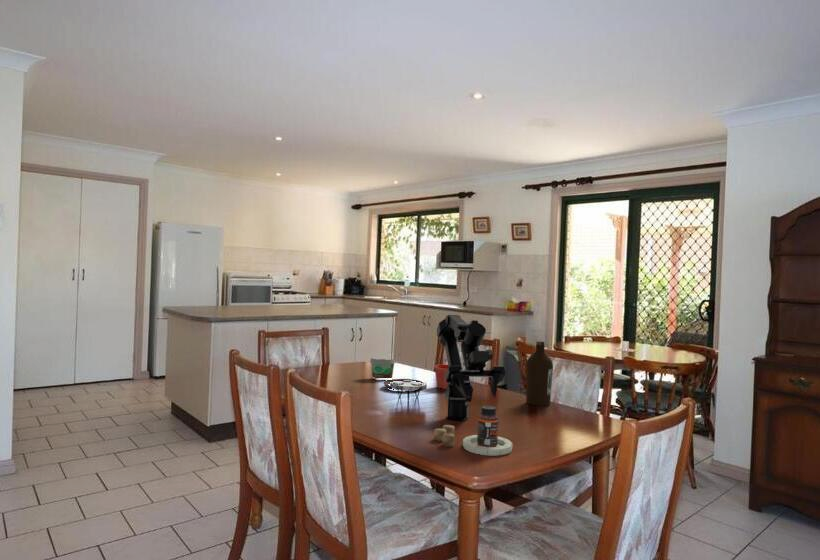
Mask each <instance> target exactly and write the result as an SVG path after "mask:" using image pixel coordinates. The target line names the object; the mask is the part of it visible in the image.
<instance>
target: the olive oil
mask: <svg viewBox="0 0 820 560" xmlns="http://www.w3.org/2000/svg"><path fill="white" fill-rule="evenodd" d="M535 343H536V344H535V351H534V352H533V353H532V354H531V355H530V356H529V357H528V358H527V360H526V363H525V373H526V374H525V377H526V381H525V382H526V383H525V385H526V386H525V387H526V388H525V390H526V392H525V393H526V396H525V397H526V398H525V402H526V403H527V404H528V405H530V406H536V407H547V406H550V405H551V399H552V397H551V396H552V384H553V374H554V373H553V372H554V364H553V360H552V359H551V357H550V356H549V355H548V354H547V353H546V352H545V341H541V340H539V341H538V340H537V341H536V342H535Z"/></svg>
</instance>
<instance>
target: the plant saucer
mask: <svg viewBox="0 0 820 560" xmlns="http://www.w3.org/2000/svg"><path fill="white" fill-rule="evenodd" d="M403 380H412V381H416V382H421V383H423V385H424V384H425V383H424V382H423V381H421V380H419V379H413V378H412V379H411V378H396V379H395V378H392V380H387V381H382V382H383V385H384V387H385V388H386V389H387V388H389V389H392V387H391V386H389V385H388V384H390V382H393V381H403ZM393 390H394V389H393Z"/></svg>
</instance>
